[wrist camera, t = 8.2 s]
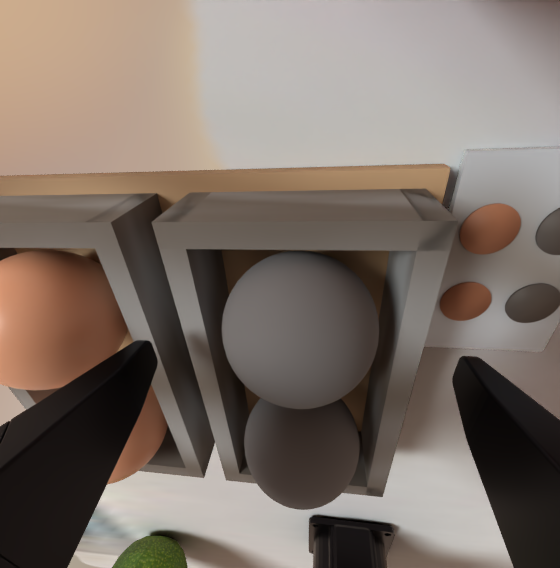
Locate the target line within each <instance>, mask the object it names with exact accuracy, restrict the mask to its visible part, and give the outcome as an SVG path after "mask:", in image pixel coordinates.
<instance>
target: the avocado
mask: <svg viewBox="0 0 560 568" xmlns="http://www.w3.org/2000/svg"><path fill="white" fill-rule="evenodd" d="M112 568H187V562H186V557H185V554H184V551H183V549H182V548H181V546H180V545H179V543H178V542H177V541H176V540H173V539H171V538H169V537H167V536H146V537H144V538H142V539H139V540H137V541H135V542H134V543H132V544H131V545H130V546H129V547H128V548H127V549H126V550H125V551H124V552H123V553H122V554H121V555H120V556H119V558H118V559H117V561H116V562H115V564H114V565H113V567H112Z"/></svg>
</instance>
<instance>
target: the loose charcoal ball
mask: <svg viewBox="0 0 560 568" xmlns="http://www.w3.org/2000/svg"><path fill="white" fill-rule="evenodd" d="M222 338H223V345H224V349H225V352H226V356H227V359H228V361H229V363H230V365H231V367H232V369H233V371H234V372H235V374H236V375H237V377H238V378H239V379H240V380H241V381H242V383H243V384H244V385H245V386H246V387H247V388H248V389H249V390H250V391H252V392H253V393H254V394H256V395H257V396H259V397H260V398H262V399H264V400H266V401H268V402H270V403H272V404H275V405H278V406H281V407H286V408H292V409H311V408H317V407H321V406H324V405H327V404H330V403H332V402H335V401H337V400H339V399H340V398H342V397H344V396H345V395H346V394H348V393H349V392H350V391H352V390H353V389H354V388H355V387H356V386H357V385H358V384H359V383H360V381H361V380H362V379H363V378H364V376H365V375H366V374H367V372H368V370H369V368H370V366H371V364H372V362H373V360H374V357H375V354H376V350H377V347H378V340H379V321H378V314H377V310H376V307H375V304H374V301H373V298H372V296H371V294H370V292H369V290H368V289H367V287H366V286H365V284H364V283H363V282H362V280H361V279H360V278H359V277H358V276H357V275H356V273H355V272H353V271H352V270H351V269H350V268H349V267H347V266H346V265H345V264H343V263H342V262H340V261H338V260H337V259H335V258H332V257H330V256H328V255H325V254H321V253H317V252H312V251H302V250H299V251H287V252H281V253H278V254H275V255H272V256H270V257H267V258H265V259H263V260H262V261H260V262H258V263H257V264H255V265H254V266H252V267H251V268H250V269H249V270H248V271H246V273H245V274H244V275H243V276H242V277H241V278H240V279H239V280H238V281H237V283H236V285H235V286H234V288H233V289H232V291H231V293H230V295H229V297H228V300H227V302H226V305H225V309H224V313H223V319H222Z"/></svg>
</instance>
